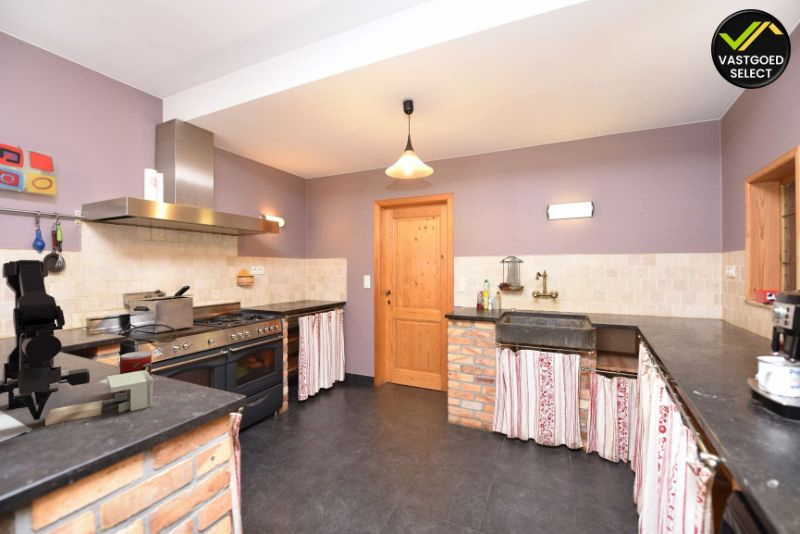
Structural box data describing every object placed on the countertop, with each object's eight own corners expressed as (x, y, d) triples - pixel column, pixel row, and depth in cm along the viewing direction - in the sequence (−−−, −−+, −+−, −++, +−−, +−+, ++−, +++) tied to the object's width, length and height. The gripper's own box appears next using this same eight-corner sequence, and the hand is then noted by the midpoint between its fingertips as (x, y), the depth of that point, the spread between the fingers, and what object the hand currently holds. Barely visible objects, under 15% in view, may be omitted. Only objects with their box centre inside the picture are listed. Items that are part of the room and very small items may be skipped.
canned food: (134, 395, 101) (134, 357, 101) (112, 393, 103) (112, 356, 103) (158, 386, 109) (158, 351, 109) (137, 385, 110) (137, 350, 110)
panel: (45, 427, 82) (45, 417, 82) (50, 418, 87) (50, 409, 87) (100, 416, 88) (100, 407, 88) (103, 408, 93) (103, 400, 93)
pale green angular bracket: (110, 415, 87) (111, 387, 87) (107, 401, 96) (107, 376, 96) (153, 405, 93) (153, 380, 93) (145, 393, 103) (145, 370, 103)
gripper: (-33, 369, 70) (-33, 445, 70) (90, 353, 83) (90, 418, 83) (-21, 359, 79) (-22, 427, 78) (89, 346, 91) (89, 405, 91)
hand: (36, 419), depth 83 cm, fingers closed
